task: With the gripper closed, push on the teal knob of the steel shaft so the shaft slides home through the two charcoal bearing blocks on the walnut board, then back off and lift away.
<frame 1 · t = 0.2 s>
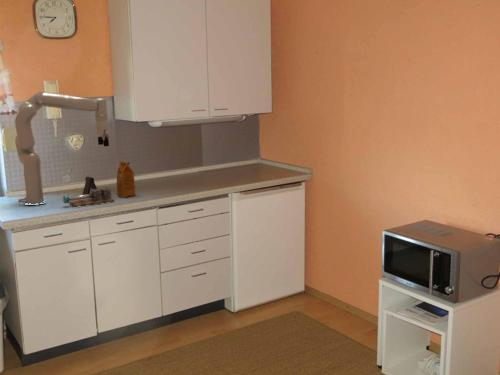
hand: (103, 145, 375), 31 cm above the worktop, tool pointing down, fingers open, 9 cm apart
phone stand: (91, 196, 377), on the worktop
shaft: (81, 197, 353), point 5 cm above the worktop, slide at 8.0 cm
coffee package: (126, 195, 374), on the worktop
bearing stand: (91, 203, 357), on the worktop
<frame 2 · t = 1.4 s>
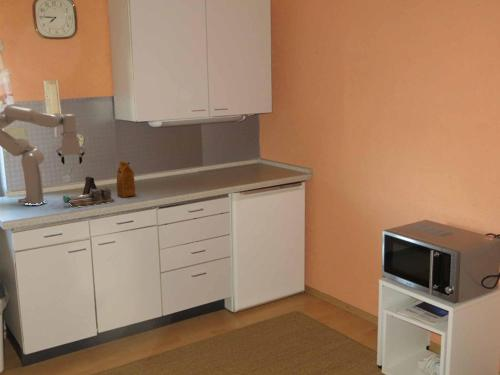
hand: (72, 163, 354), 24 cm above the worktop, tool pointing down, fingers open, 9 cm apart
nothing on the worktop moved.
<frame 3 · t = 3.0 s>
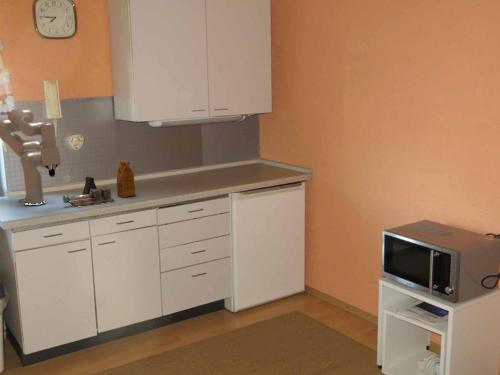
hand: (52, 176, 342), 19 cm above the worktop, tool pointing down, fingers closed
nothing on the worktop moved.
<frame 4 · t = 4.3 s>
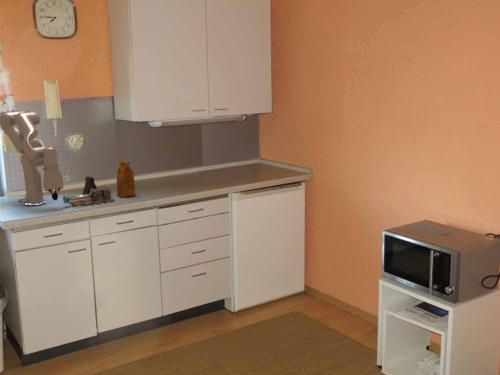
hand: (55, 199, 344), 5 cm above the worktop, tool pointing down, fingers closed
nothing on the worktop moved.
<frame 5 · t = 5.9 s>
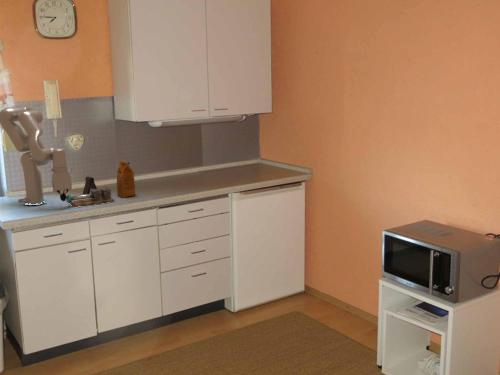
hand: (63, 200, 347), 4 cm above the worktop, tool pointing down, fingers closed
shaft: (83, 196, 354), point 5 cm above the worktop, slide at 6.4 cm, touching gripper
everything else where it was.
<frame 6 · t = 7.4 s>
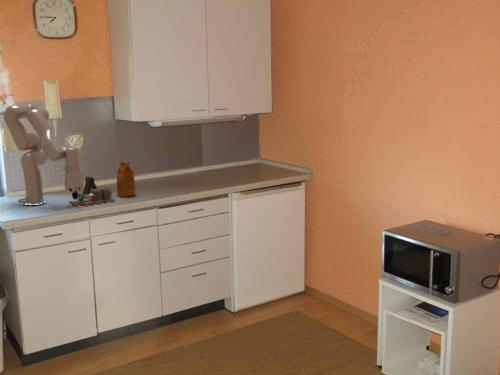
hand: (75, 198, 351), 4 cm above the worktop, tool pointing down, fingers closed
shaft: (95, 195, 357), point 5 cm above the worktop, slide at -0.5 cm, touching gripper
everything else where it was.
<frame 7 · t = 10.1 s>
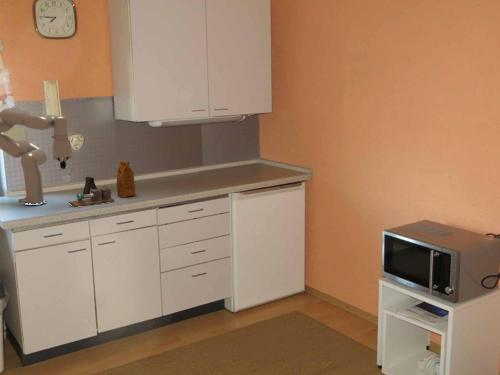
hand: (63, 168, 350), 22 cm above the worktop, tool pointing down, fingers closed
shaft: (94, 195, 357), point 5 cm above the worktop, slide at 0.0 cm
everything else where it was.
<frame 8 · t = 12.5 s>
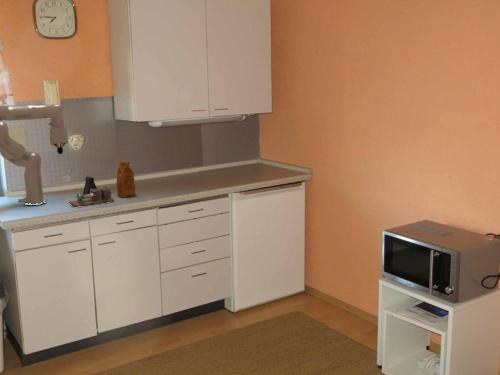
hand: (60, 153, 372), 27 cm above the worktop, tool pointing down, fingers closed
nothing on the worktop moved.
at the end: shaft slide at 0.0 cm; phone stand moved 0.3 cm from its start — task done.
